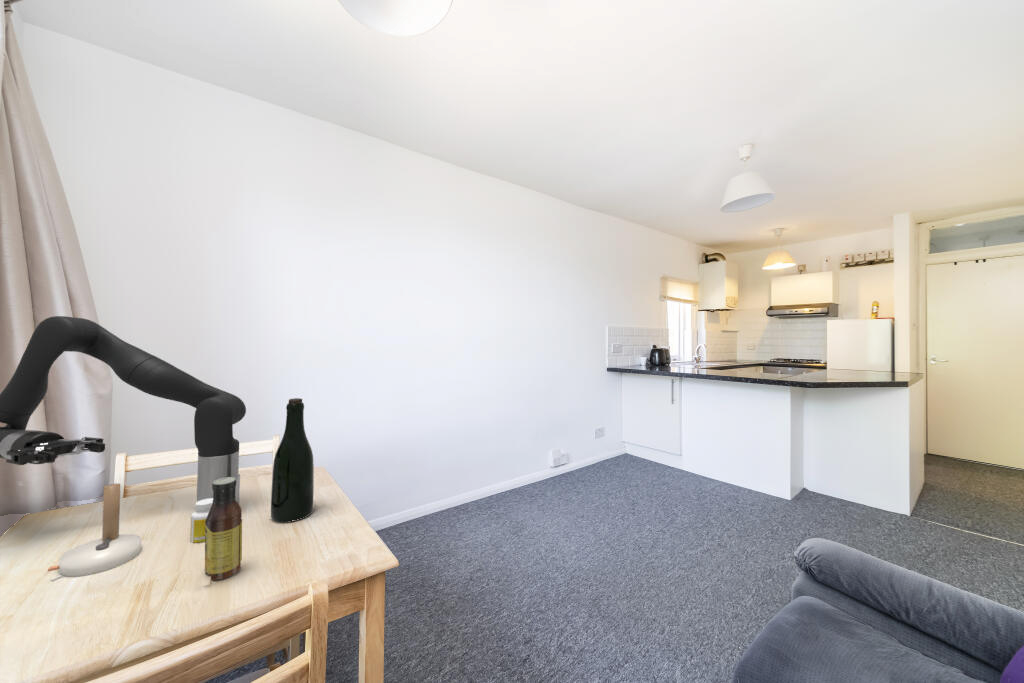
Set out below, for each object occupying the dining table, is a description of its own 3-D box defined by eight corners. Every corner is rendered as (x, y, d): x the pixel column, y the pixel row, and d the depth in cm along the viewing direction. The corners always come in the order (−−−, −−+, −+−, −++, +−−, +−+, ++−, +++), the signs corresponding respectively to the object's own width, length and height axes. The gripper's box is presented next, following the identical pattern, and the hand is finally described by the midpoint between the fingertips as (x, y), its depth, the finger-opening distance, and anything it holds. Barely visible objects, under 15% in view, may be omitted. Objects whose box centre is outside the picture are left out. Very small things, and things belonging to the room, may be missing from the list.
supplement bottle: (223, 539, 93) (224, 499, 94) (197, 550, 89) (198, 508, 89) (210, 534, 96) (212, 495, 96) (185, 544, 91) (186, 503, 91)
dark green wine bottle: (273, 527, 100) (276, 402, 100) (268, 513, 108) (271, 397, 108) (316, 516, 106) (320, 399, 107) (309, 504, 115) (312, 395, 115)
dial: (130, 566, 80) (132, 497, 80) (45, 583, 74) (48, 508, 74) (147, 540, 90) (149, 479, 90) (74, 553, 84) (77, 488, 84)
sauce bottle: (217, 564, 83) (220, 474, 83) (248, 564, 83) (250, 473, 84) (195, 583, 76) (198, 485, 77) (228, 582, 77) (231, 484, 77)
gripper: (-14, 437, 85) (35, 444, 82) (72, 425, 99) (117, 430, 95) (-15, 471, 85) (33, 479, 82) (71, 453, 99) (116, 459, 95)
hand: (78, 452), depth 89 cm, fingers open, 8 cm apart
